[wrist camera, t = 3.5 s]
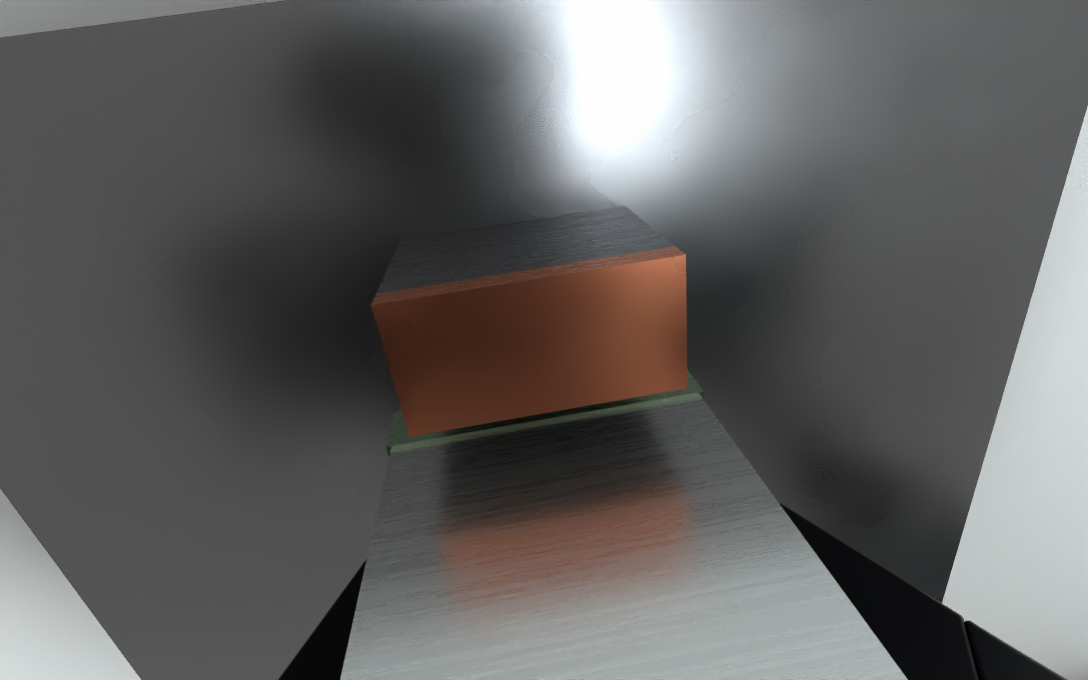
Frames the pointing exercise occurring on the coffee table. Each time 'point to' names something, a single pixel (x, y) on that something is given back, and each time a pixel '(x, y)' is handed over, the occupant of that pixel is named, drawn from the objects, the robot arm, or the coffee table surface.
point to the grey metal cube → (596, 557)
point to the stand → (502, 269)
